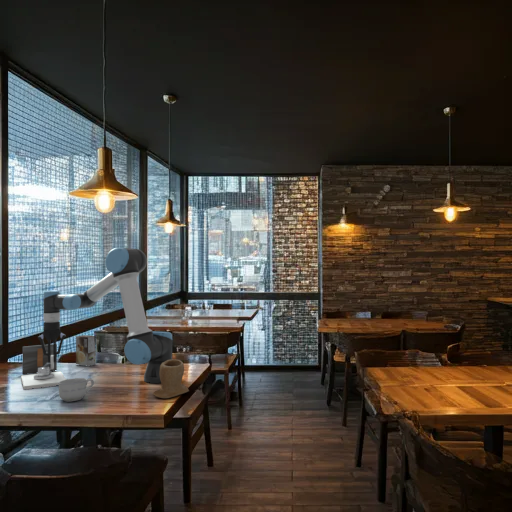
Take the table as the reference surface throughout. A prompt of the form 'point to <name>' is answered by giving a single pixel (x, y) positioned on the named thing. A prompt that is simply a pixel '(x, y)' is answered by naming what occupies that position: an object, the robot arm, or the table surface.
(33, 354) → the board
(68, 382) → the teacup
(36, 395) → the table surface
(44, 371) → the grey metal lever
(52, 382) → the base plate
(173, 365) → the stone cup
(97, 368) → the table surface
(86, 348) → the coffee box
